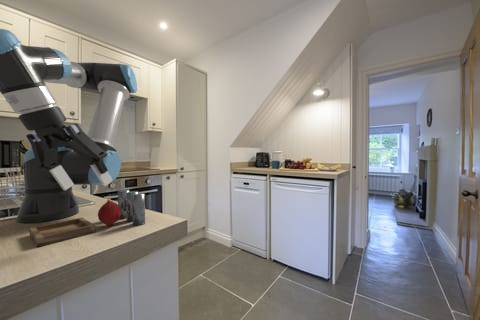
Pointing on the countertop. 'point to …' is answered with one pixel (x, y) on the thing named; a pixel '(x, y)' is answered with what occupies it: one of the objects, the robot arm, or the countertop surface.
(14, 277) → the countertop surface
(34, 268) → the countertop surface
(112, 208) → the onion
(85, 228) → the tray
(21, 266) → the countertop surface
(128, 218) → the spacer mid
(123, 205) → the spacer left
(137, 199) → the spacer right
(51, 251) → the countertop surface
